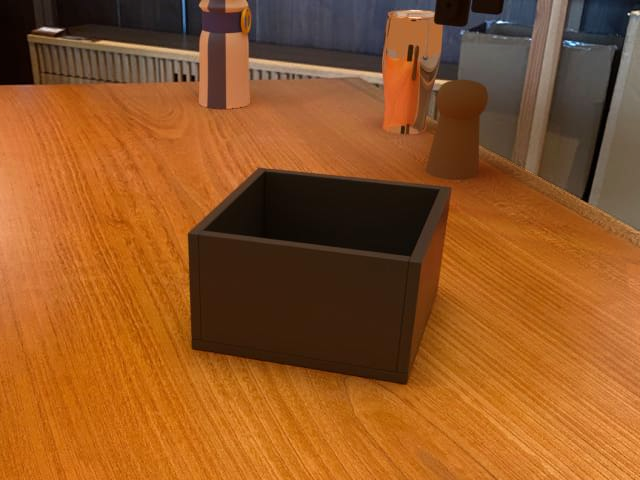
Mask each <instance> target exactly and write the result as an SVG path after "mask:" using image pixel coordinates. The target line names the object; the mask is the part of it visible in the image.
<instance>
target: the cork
mask: <svg viewBox="0 0 640 480" xmlns="http://www.w3.org/2000/svg"><path fill="white" fill-rule="evenodd" d="M488 101H489V94H488V90H487V88H486V86H485V85H484V84H483V83H482V82H478V81H476V80H475V81H474V80H471V79H453V80H449V81H446V82H444V83H442V84H441V86H440V87H439V89H438V90H437V93H436V97H435V105H436V108H437V111H438V113H439V116H438V118H437V119H438V120H437V123H436V127H435V132H434V136H433V139H432V143H431V147H430V152H429V155H428V159H427V162H426V166H425V172H426V173H427V174H428V175H430V176H432V177H435V178H438V179H442V180H443V179H444V180H451V181H452V180H453V181H455V180H456V181H457V180H458V181H461V180H470V179H474V178H476V177H478V175H479V172H480V171H479V168H480V123H481V121H480V119H481V118H480V116H481V115H482V114H483V113H484V111H485V110H486V107H487V105H488Z"/></svg>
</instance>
